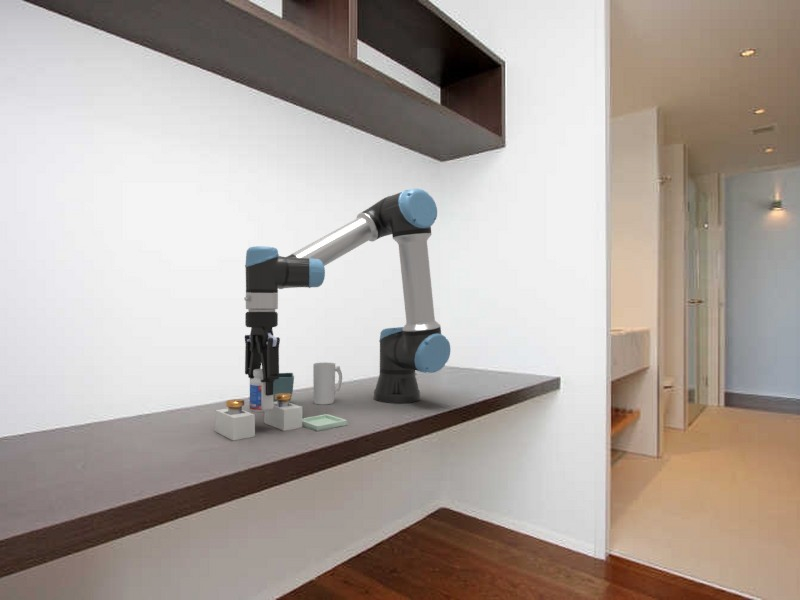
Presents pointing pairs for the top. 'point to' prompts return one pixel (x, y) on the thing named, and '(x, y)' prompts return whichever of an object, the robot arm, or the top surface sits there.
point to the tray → (323, 422)
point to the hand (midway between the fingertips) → (261, 406)
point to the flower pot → (283, 384)
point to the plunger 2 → (283, 399)
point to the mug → (325, 382)
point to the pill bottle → (256, 391)
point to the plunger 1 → (235, 406)
